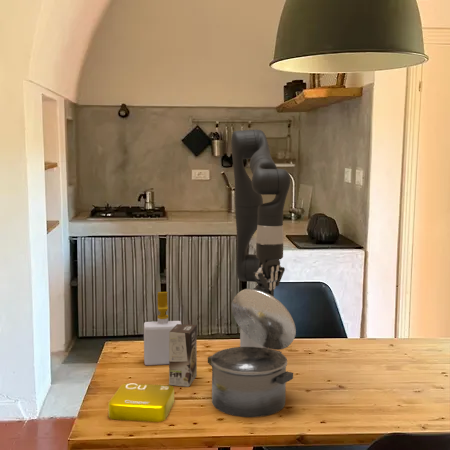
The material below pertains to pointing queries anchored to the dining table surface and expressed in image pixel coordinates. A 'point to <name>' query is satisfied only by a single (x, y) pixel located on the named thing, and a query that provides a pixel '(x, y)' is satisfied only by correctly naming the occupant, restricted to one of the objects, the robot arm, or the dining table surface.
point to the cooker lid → (263, 319)
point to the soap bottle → (158, 335)
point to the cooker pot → (249, 381)
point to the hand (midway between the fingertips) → (268, 302)
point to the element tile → (141, 402)
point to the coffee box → (182, 355)
